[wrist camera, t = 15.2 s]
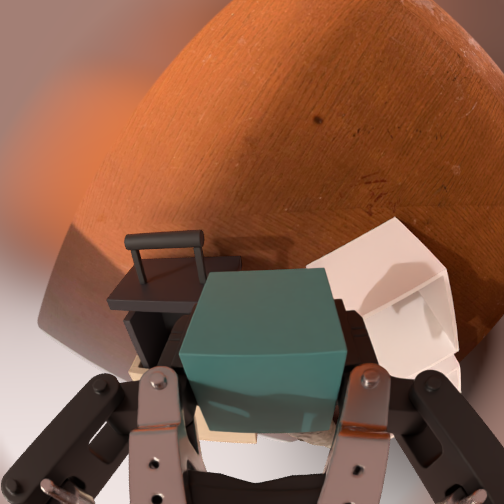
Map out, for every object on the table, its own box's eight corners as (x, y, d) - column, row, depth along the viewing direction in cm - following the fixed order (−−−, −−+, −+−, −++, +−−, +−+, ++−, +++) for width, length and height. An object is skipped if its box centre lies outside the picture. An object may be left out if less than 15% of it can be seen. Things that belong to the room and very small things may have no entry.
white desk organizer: (435, 351, 35) (460, 404, 26) (374, 381, 39) (389, 438, 29) (394, 216, 27) (446, 268, 17) (306, 265, 30) (318, 336, 20)
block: (225, 352, 13) (209, 431, 9) (209, 271, 11) (177, 353, 7) (319, 349, 12) (329, 430, 8) (324, 266, 11) (348, 350, 7)
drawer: (128, 217, 28) (89, 251, 21) (236, 209, 27) (222, 244, 20) (166, 346, 36) (148, 391, 29) (251, 350, 35) (245, 399, 28)
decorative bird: (326, 430, 46) (329, 462, 40) (275, 399, 42) (274, 438, 35) (350, 420, 44) (355, 453, 38) (303, 387, 40) (305, 427, 33)
